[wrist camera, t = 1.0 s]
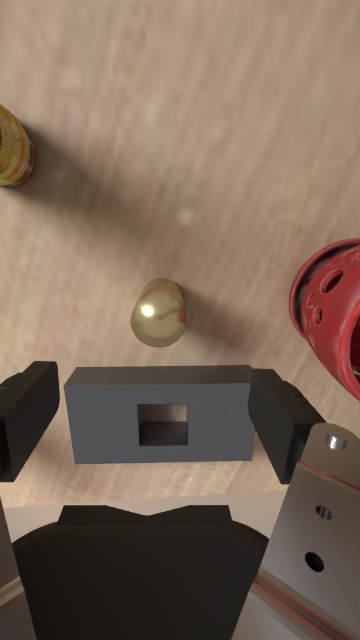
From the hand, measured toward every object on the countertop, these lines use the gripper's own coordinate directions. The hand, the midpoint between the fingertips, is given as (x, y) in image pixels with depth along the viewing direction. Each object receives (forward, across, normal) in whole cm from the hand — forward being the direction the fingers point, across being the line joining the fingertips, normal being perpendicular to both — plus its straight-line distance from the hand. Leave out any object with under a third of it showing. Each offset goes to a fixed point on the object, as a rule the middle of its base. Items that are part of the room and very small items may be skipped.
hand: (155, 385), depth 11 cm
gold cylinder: (+19, 0, +1) cm, 19 cm away
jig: (+19, -1, +14) cm, 23 cm away
